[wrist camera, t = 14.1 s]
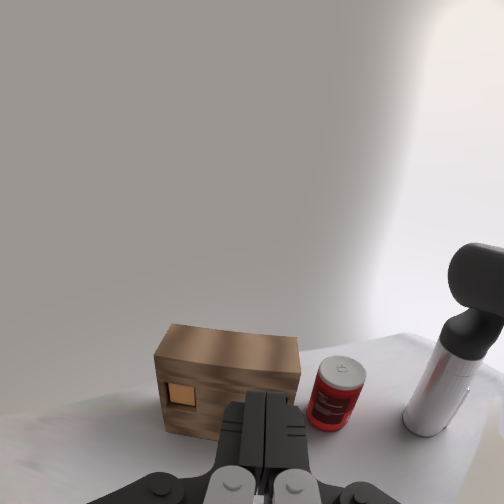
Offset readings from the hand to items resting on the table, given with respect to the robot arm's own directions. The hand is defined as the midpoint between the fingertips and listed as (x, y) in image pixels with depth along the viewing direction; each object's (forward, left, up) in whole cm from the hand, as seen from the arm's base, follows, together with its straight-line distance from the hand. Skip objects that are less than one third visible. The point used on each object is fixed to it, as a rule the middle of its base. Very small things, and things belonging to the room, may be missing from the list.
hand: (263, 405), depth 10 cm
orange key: (+10, -22, -23) cm, 34 cm away
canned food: (-13, -26, -30) cm, 42 cm away
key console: (+4, -23, -30) cm, 38 cm away
